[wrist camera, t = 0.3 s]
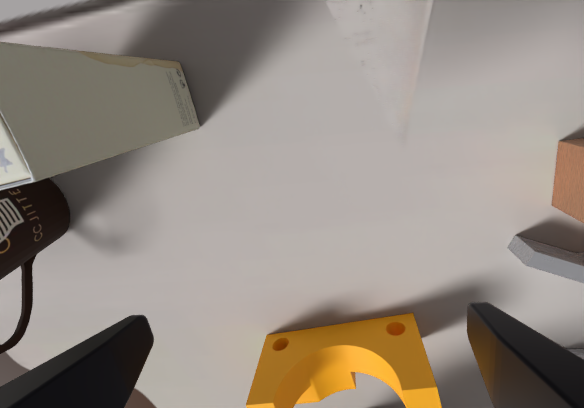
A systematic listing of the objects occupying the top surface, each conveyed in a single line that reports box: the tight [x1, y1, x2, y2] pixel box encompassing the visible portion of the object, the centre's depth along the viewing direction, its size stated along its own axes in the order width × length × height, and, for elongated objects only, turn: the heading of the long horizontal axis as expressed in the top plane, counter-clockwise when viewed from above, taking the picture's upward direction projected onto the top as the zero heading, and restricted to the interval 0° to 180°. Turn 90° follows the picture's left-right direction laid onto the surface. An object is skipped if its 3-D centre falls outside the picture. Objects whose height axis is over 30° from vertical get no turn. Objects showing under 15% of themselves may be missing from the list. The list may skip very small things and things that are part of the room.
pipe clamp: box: [246, 313, 442, 408], centre depth 23 cm, size 12×4×6 cm, turn 108°
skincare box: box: [0, 42, 200, 190], centre depth 15 cm, size 6×4×12 cm
